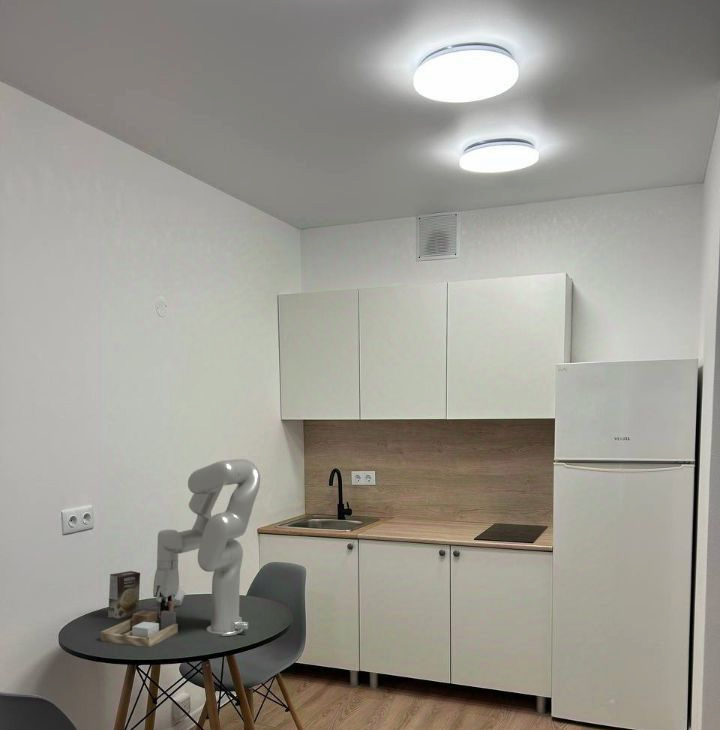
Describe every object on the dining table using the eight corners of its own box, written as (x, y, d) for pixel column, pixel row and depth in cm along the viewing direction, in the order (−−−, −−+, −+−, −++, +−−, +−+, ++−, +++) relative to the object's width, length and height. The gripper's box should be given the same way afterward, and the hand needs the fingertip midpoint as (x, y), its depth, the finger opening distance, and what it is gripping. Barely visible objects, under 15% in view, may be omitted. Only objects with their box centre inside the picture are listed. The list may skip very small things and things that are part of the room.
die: (184, 609, 272) (191, 586, 278) (165, 601, 268) (173, 577, 274) (173, 613, 277) (180, 590, 283) (154, 605, 273) (162, 582, 279)
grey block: (176, 629, 241) (177, 612, 241) (147, 644, 225) (148, 625, 225) (162, 627, 243) (162, 610, 243) (132, 642, 227) (132, 623, 227)
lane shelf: (188, 629, 244) (189, 618, 244) (148, 650, 222) (149, 637, 223) (143, 624, 250) (144, 613, 250) (100, 644, 229) (100, 631, 229)
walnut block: (174, 618, 254) (174, 601, 255) (146, 631, 239) (147, 613, 239) (160, 616, 256) (160, 599, 257) (131, 629, 241) (132, 611, 241)
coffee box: (117, 621, 253) (118, 576, 255) (107, 618, 257) (109, 574, 259) (139, 616, 261) (140, 572, 262) (129, 613, 265) (130, 570, 266)
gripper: (171, 559, 265) (169, 608, 263) (145, 567, 250) (144, 620, 249) (188, 560, 262) (187, 610, 261) (163, 569, 247) (162, 622, 246)
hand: (166, 615), depth 255 cm, fingers closed on walnut block
